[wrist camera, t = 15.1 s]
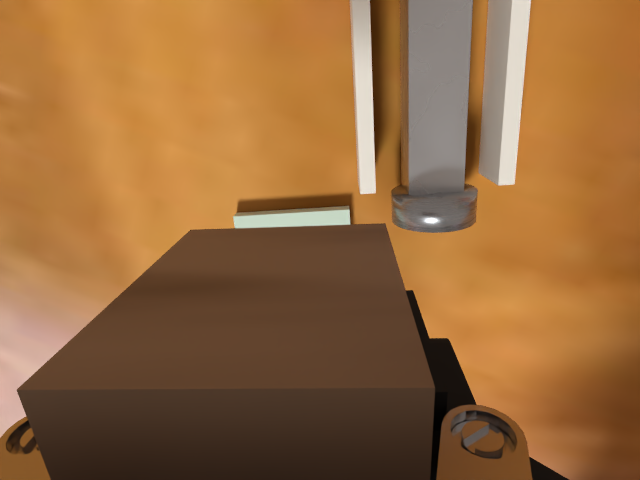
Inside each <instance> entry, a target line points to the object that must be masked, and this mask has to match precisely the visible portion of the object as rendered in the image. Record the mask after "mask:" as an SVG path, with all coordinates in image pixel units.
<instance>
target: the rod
mask: <svg viewBox="0 0 640 480" xmlns="http://www.w3.org/2000/svg"><path fill="white" fill-rule="evenodd" d="M472 6H473V0H400V73H401V183H402V185H400V186H398V187H395V188H394V189H393V190H392V192H391V193H392V222H393V223H394V224H395V225H396V226H398V227H401V228H403V229H407V230H412V231H418V232H432V233H437V232H451V231H457V230H462V229H465V228H468V227H470V226H472V225H473V224H474V223H475V222H476V209H477V192H478V190H477V188H475V187H474V186H472V185H469V184H465V183H464V180H465V158H466V136H467V115H468V93H469V71H470V50H471V28H472Z"/></svg>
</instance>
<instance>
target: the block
mask: <svg viewBox="0 0 640 480" xmlns="http://www.w3.org/2000/svg"><path fill="white" fill-rule="evenodd" d="M17 392H18V395H19V397H20V400H21V403H22V405H23V408H24V410H25V413H26V416H27V418H28V421H29V424H30V426H31V429H32V431H33V434H34V437H35V439H36V442H37V445H38V447H39V450H40V452H41V455H42V458H43V460H44V463H45V466H46V468H47V471H48V473H49V476H50V479H51V480H430V473H431V454H432V436H433V418H434V399H435V386H434V382H433V379H432V376H431V373H430V369H429V366H428V363H427V359H426V356H425V353H424V350H423V346H422V343H421V340H420V336H419V333H418V330H417V327H416V323H415V320H414V317H413V313H412V310H411V307H410V303H409V300H408V297H407V294H406V290H405V287H404V284H403V280H402V277H401V274H400V271H399V267H398V264H397V261H396V257H395V254H394V251H393V248H392V244H391V241H390V238H389V234H388V231H387V228H386V225H385V223H384V224H354V225H324V226H293V227H263V228H233V229H202V230H190V231H189V232H188V233H187V234H186V235H184V236H183V237H182V238H181V239H180V240H179V241H178V242H177V243H176V244H175V245H174V246H173V247H171V248H170V249H169V250H168V251H167V252H166V253H165V254H164V255H163V256H162V257H161V258H159V259H158V260H157V261H156V262H155V263H154V264H153V265H152V266H151V267H150V268H149V269H148V270H146V271H145V272H144V273H143V274H142V275H141V276H140V277H139V278H138V279H137V280H136V281H134V282H133V283H132V284H131V285H130V286H129V287H128V288H127V289H126V290H125V291H124V292H122V293H121V294H120V295H119V296H118V297H117V298H116V299H115V300H114V301H113V302H112V303H111V304H109V305H108V306H107V307H106V308H105V309H104V310H103V311H102V312H101V313H100V314H99V315H97V316H96V317H95V318H94V319H93V320H92V321H91V322H90V323H89V324H88V325H87V326H86V327H84V328H83V329H82V330H81V331H80V332H79V333H78V334H77V335H76V336H75V337H74V338H72V339H71V340H70V341H69V342H68V343H67V344H66V345H65V346H64V347H63V348H62V349H61V350H59V351H58V352H57V353H56V354H55V355H54V356H53V357H52V358H51V359H50V360H49V361H47V362H46V363H45V364H44V365H43V366H42V367H41V368H40V369H39V370H38V371H37V372H35V373H34V374H33V375H32V376H31V377H30V378H29V379H28V380H27V381H26V382H25V383H24V384H22V385H21V386H20V387H19V388H18V389H17Z"/></svg>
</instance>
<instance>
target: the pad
mask: <svg viewBox="0 0 640 480" xmlns="http://www.w3.org/2000/svg"><path fill="white" fill-rule="evenodd" d="M233 218H234V225H235V228H263V227H293V226H324V225H350V210H349V206H338V207H321V208H305V209H289V210H272V211H256V212H240V213H236V214H235V215H234V216H233Z"/></svg>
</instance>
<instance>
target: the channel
mask: <svg viewBox="0 0 640 480" xmlns="http://www.w3.org/2000/svg"><path fill="white" fill-rule="evenodd" d="M530 5H531V0H488V17H487V35H486V52H485V69H484V86H483V104H482V121H481V138H480V156H479V174H481V175H483V176H484V177H486V178H487V179H489V180H491V181H492V182H494V183H495V184H497V185H512V184H515V172H516V161H517V150H518V139H519V128H520V117H521V105H522V94H523V83H524V72H525V61H526V50H527V38H528V27H529V16H530ZM350 17H351V38H352V60H353V82H354V104H355V126H356V148H357V170H358V184H359V189H360V194H369V193H376V184H375V152H374V119H373V86H372V54H371V21H370V0H350Z"/></svg>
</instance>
